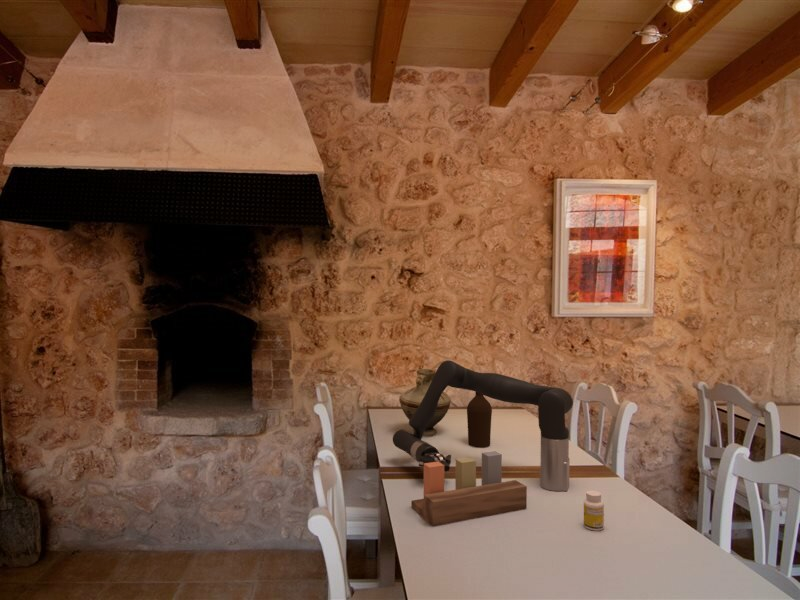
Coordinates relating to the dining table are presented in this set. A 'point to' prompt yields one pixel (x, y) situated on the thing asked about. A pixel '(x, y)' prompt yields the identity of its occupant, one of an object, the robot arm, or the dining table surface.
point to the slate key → (491, 468)
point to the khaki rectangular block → (465, 473)
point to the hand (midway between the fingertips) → (447, 468)
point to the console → (471, 502)
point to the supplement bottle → (593, 511)
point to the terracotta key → (433, 477)
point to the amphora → (416, 395)
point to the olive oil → (479, 421)
